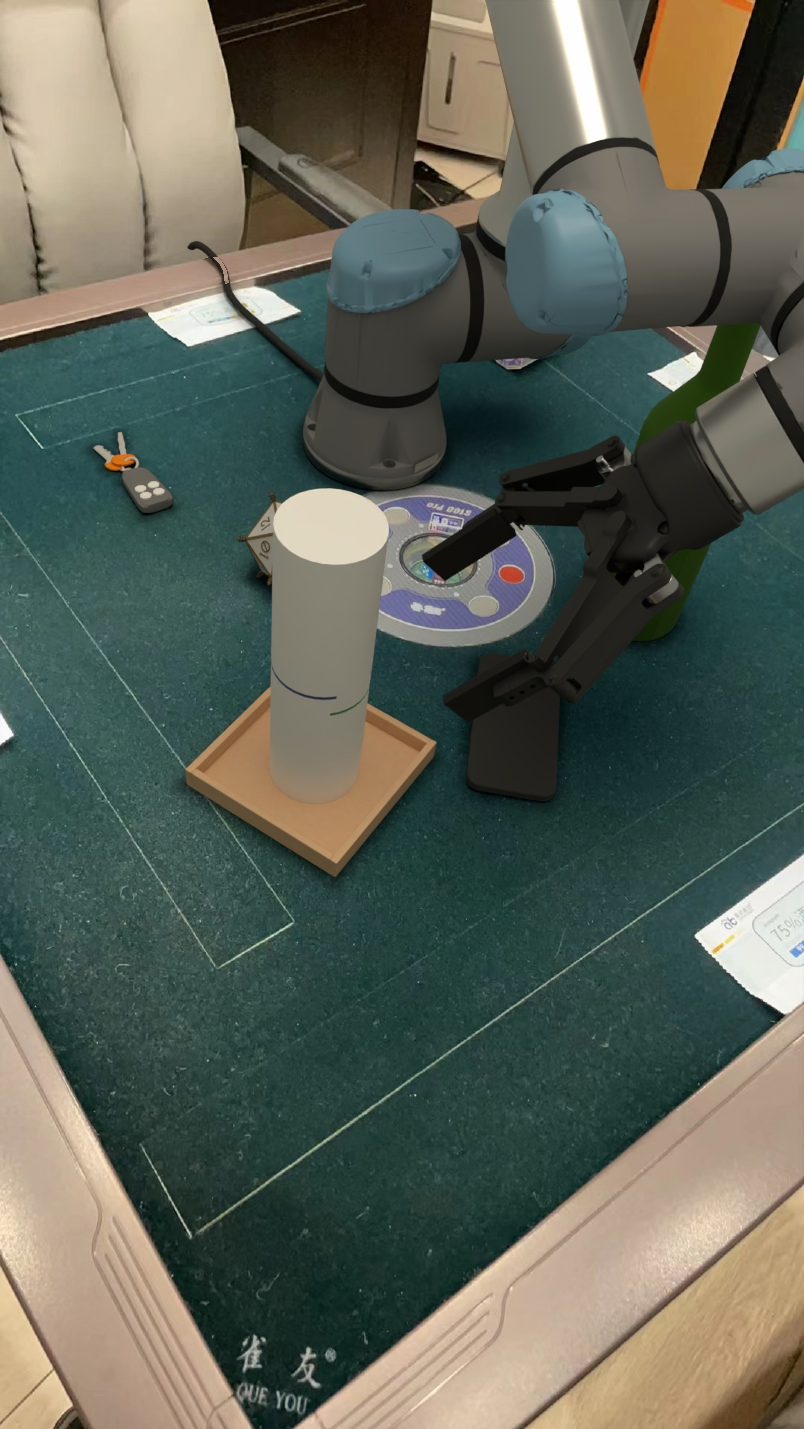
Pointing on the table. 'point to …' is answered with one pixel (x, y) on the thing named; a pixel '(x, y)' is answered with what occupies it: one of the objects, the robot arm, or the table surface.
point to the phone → (516, 745)
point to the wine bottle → (681, 404)
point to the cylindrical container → (323, 638)
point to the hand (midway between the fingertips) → (443, 635)
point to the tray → (310, 830)
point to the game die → (263, 539)
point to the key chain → (137, 479)
